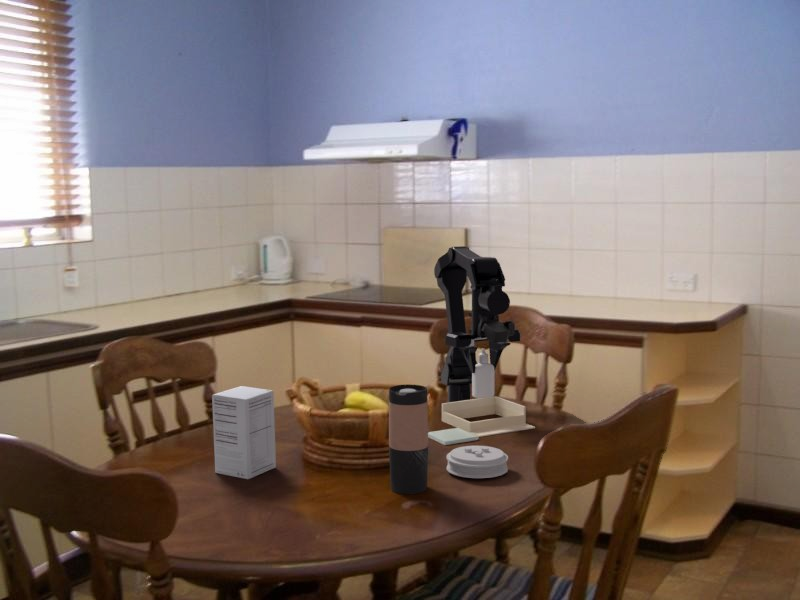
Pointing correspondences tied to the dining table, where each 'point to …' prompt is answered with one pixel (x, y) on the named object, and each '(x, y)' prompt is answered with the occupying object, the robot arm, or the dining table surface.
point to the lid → (477, 462)
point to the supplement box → (244, 431)
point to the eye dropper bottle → (483, 377)
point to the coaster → (452, 436)
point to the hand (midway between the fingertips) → (483, 371)
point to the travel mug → (408, 438)
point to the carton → (508, 410)
